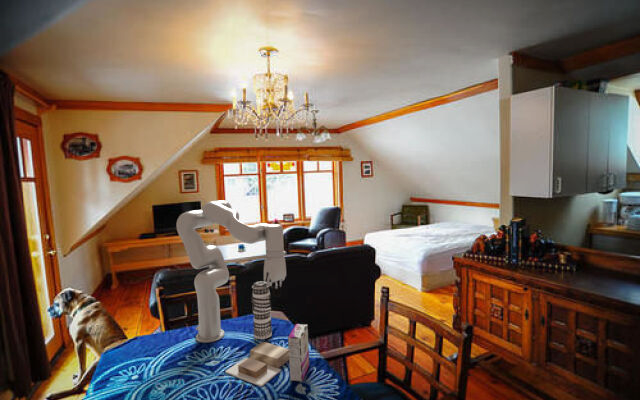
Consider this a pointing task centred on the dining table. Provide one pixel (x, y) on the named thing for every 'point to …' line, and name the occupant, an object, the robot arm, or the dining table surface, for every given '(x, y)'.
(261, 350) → the birch stand
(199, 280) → the robot arm
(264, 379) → the off-white mat
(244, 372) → the walnut tile
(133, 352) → the dining table surface
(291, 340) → the candy bar box
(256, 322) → the decorative candle
